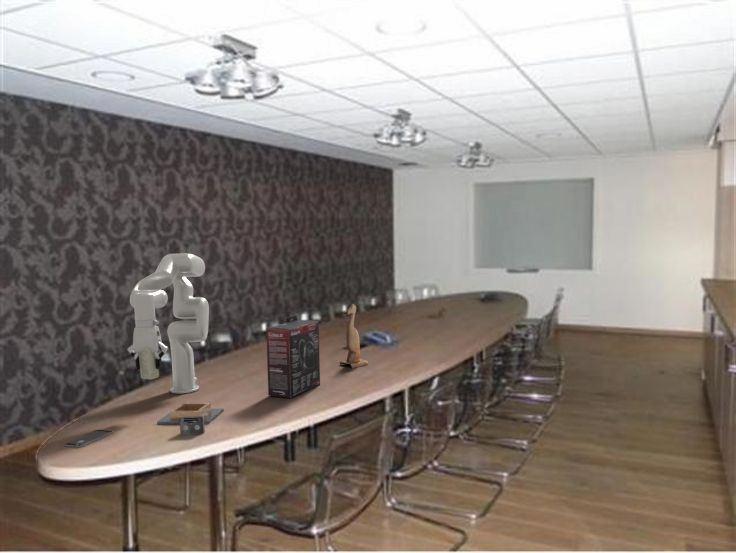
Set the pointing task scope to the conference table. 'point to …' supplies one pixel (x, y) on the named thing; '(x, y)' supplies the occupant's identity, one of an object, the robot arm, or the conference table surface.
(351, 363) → the bird sculpture
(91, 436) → the phone
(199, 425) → the mini dv tape
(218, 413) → the collar socket
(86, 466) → the conference table surface
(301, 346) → the headset box
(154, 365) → the skincare box
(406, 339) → the conference table surface
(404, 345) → the conference table surface
